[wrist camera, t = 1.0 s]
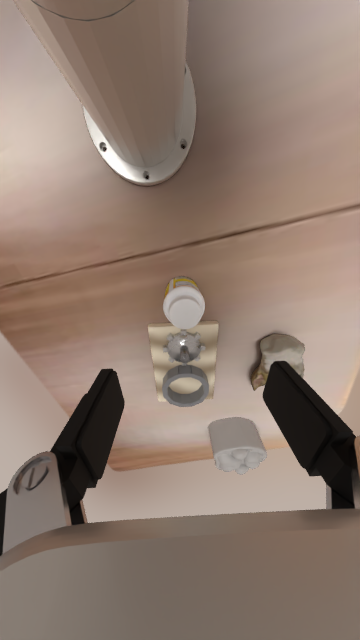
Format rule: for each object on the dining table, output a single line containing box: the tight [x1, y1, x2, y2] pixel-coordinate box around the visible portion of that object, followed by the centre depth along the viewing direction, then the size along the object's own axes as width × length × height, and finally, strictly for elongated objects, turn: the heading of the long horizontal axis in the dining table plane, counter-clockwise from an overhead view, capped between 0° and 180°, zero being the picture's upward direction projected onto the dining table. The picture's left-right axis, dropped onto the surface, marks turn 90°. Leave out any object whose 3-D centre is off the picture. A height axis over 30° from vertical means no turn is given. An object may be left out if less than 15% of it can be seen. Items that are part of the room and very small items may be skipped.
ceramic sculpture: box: [251, 334, 305, 391], centre depth 31 cm, size 11×9×15 cm
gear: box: [163, 329, 205, 366], centre depth 29 cm, size 8×8×4 cm
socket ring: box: [162, 365, 209, 407], centre depth 34 cm, size 10×10×2 cm
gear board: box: [148, 321, 219, 402], centre depth 34 cm, size 20×13×2 cm, turn 2°
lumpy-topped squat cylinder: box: [208, 417, 267, 475], centre depth 42 cm, size 10×13×9 cm
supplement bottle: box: [163, 276, 205, 329], centre depth 23 cm, size 6×6×10 cm
